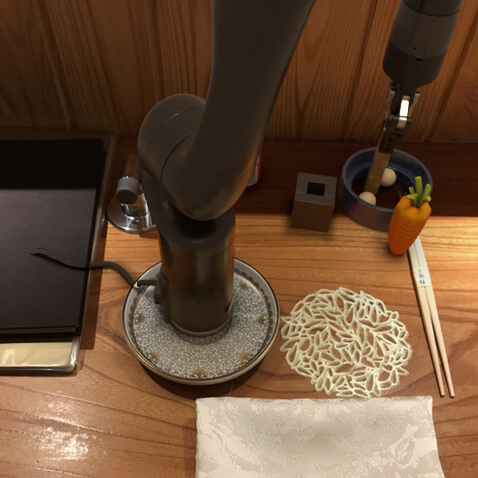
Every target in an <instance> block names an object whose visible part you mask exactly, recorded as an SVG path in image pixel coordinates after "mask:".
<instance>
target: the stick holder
mask: <svg viewBox="0 0 478 478" xmlns="http://www.w3.org/2000/svg"><path fill="white" fill-rule="evenodd" d="M337 183H338V177H336V176H329V175H323V174H316V173H306V172H300V171H298V173H297V179H296V183H295V191H294V197H293V202H292V203H293V205H292V209H291V217H290V224H289V228H291V229H298V230H306V231H313V232H319V233H326V234H327V233H329V229H330V226H331V221H332V217H333V215H334V210H335V204H336V196H337Z"/></svg>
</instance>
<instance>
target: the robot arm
mask: <svg viewBox="0 0 478 478" xmlns="http://www.w3.org/2000/svg"><path fill="white" fill-rule="evenodd" d="M464 1H465V0H400V2H399V4H398V6H397V9H396V11H395V14H394V18H393V22H392V25H391V29H390V32H389V36H388V40H387V42H386V43H387V44H386V47H385V51H384V54H383V58H382V62H381V66H382V71H383V73H384V74H385V75H386V76H387V77H388V78H389V79H388V86H387V91H386V95H385V99H384V106H385V110H384V111H383V114H382V115H383V121H382V124H381V126H380V127H381V128H380V131H379V133H378V140H379V139H380V136H381V133H382V130H383V134H382V137H381V140H380V144H379V147H378V151H379V152H380V153H385V154H392V153H393V151H394V149H396V148H395V147H396V145H397V142H398V141H402V140H403V139H404V137H405V136H406V134H407V132H408V131H409V130H410V128H411V126H412V124H413V122H414V120H413V117H412V114H413V111H414V107H415V106H416V105H417V104H418V101H419V97H420V95H421V93H420V92H421V91H420V90H419V89H420V88H421V87H424V86H428V85H430V84H432V83H433V82H434V81H436V80H437V78H438V77H439V75H440V72H441V70H442V67H443V64H444V62H445V59H446V57H447V53H448V51H449V48H450V45H451V42H452V40H453V37H454V35H455V32H456V29H457V26H458V23H459V17H460V14H461V9H462V6H463V4H464ZM316 2H317V0H209V5H210V6H209V7H210V9H209V10H210V29H211V30H210V33H211V68H210V77H209V83H208V84H209V85H208V87H207V92H206V96H205V99H204V98H202V97H200V96H198V95H195V94H191V93H176V94H171V95H169V96H167V97H165V98H163V99H161V100H160V101H158V102H157V103H156V104H155V105H153V107H152V108H151V109H150V110H149V112H148V113H147V115H146V116H145V117H144V119H143V121H142V123H141V126H140V129H139V131H138V135H137V136H138V137H137V143H136V144H137V145H136V153H137V162H138V166H139V167H138V168H139V172H140V177H141V182H142V187H143V192H144V199H145V201H146V206H147V209H148V212H149V214H150V217H151V219H152V221H153V223H154V226H155V229H156V235H157V241H158V248H159V255H160V263H161V265H160V267H159V272H158V275H157V279H151V278H150V279H149V278H147V279H146V278H144V279H143V278H142V279H138V280H137V281H136V280H135V279H134V278H133V277H132V276H131V275H130V274H129V272H128V271H127V270H126V269H125V268H124V267H123V266H122V265H120V264H119V263H117V262H114V261H110V260H97V261H91V263H90V262H89V263H90V265H89V268H88V269H95V268H111V269H113V270H115V271H117V272H118V273H119V275H121V276H122V277H123V279H124V280H125V282H126V283H128V285H129V286H131V287H132V286H133V285H134V283H135V282H137V286H138V287H139V288H138V289H140V288H141V287H143V286H146V287H154V289H153V291H152V295H153V303H154V305H157V306H161V307H162V312H163V319H164V322H165V323H168V324H172V325H173V327H174V328H175V329H177V330H178V331H179V332H180V333H182V334H185V335H187V336H191V337H197V338H203V337H209V336H213V335H215V334H217V333H219V332H221V331H222V330H224V329H225V328H226V326H227V325H229V323H230V321H231V320H232V317H233V314H234V302H235V300H236V294H237V293H236V291H235V292H234V281H235V279H234V277H235V253H236V225H237V224H236V223H237V221H236V212H235V209H234V205H235V204H236V203H237V201H238V200H239V198H240V197H241V196H242V194H243V193H244V191H245V189H246V188H247V187H246V186H247V184H248V182H249V180H250V178H251V176H252V173H253V171H254V168H255V166H256V163H257V160H258V157H259V154H260V150H261V147H262V148H263V144H264V141H265V137H266V135H267V132H268V128H269V125H270V122H271V118H272V115H273V113H274V109H275V106H276V103H277V100H278V98H279V94H280V92H281V89H282V86H283V84H284V80H285V78H286V76H287V73H288V71H289V68H290V66H291V64H292V61H293V57H294V56H295V53H296V51H297V48H298V46H299V43H300V40H301V38H302V36H303V32H304V30H305V28H306V25H307V23H308V21H309V18H310V16H311V14H312V11H313V9H314V7H315V5H316ZM385 121H386V123H385ZM384 124H385V126H384Z"/></svg>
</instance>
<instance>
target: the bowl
mask: <svg viewBox="0 0 478 478" xmlns="http://www.w3.org/2000/svg"><path fill="white" fill-rule="evenodd" d="M376 148H377V146H375V147H373V146H372V147H368V148H363V149H361V150H359V151H356V152H355V153H353V154H352V155H350V156H349V157H348V158H347V159H346V161H345V162H344V165H343V167H342V169H341V173H340V177H339V181H338V187H337V190H336V198H337V202H338V206H339V208H340V209H341V211H342V212H343V213H344V214H345V215H346V216H347V217H348V218H349V219H350V220H351V221H352V222H355V223H356V224H357V225H359V226H361V227H363V228H366V229H369V230H372V231H377V232H384V233H385V232H386V233H389V226H390V222H391V219H392V216H393V213H394V210H395V208H390V207H381V206H378V205H376V204H375V205H372V204H370V203H368V202H366V201H364V200H363V199H361V198H360V197H359V195H358V194H356V192H354V191H353V189H352V186H354V184H355V183H356V182H357V181H359V180H361V179H363V178H367V176H368V173H369V170H370V167H371V164H372V161H373V158H374V155H375V151H376ZM386 168H389V169H392V170H393V171H394V172H395V174H396V180H395V182H396V183H399V184H400V185H402V187H404V188H405V189H406V190H407V192H408V193H409V195H411V193H410V190H409V187H413V188H414V192H415V194H416V183H415V177H421V181H422V194H421V197H422V195H423V192H424V189H425V186H426V184H429V185H430V186H431V189H430V192H429V194H428V196H430V197H431V194H432V191H433V189H434V188H433V187H434V185H433V181H434V180H433V178H432V175H431V173H430V171H429V169H428V168H427V167H426V166H425V164H424V163H423V162H422V161H421V160H420V159H418V158H417V157H415V156H414V155H411V154H410V153H408V152H406V151H403V150H400V149H397V148H394V151H393V153H392V154H391V155H390V158H389V161H388V163H387V166H386Z"/></svg>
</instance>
